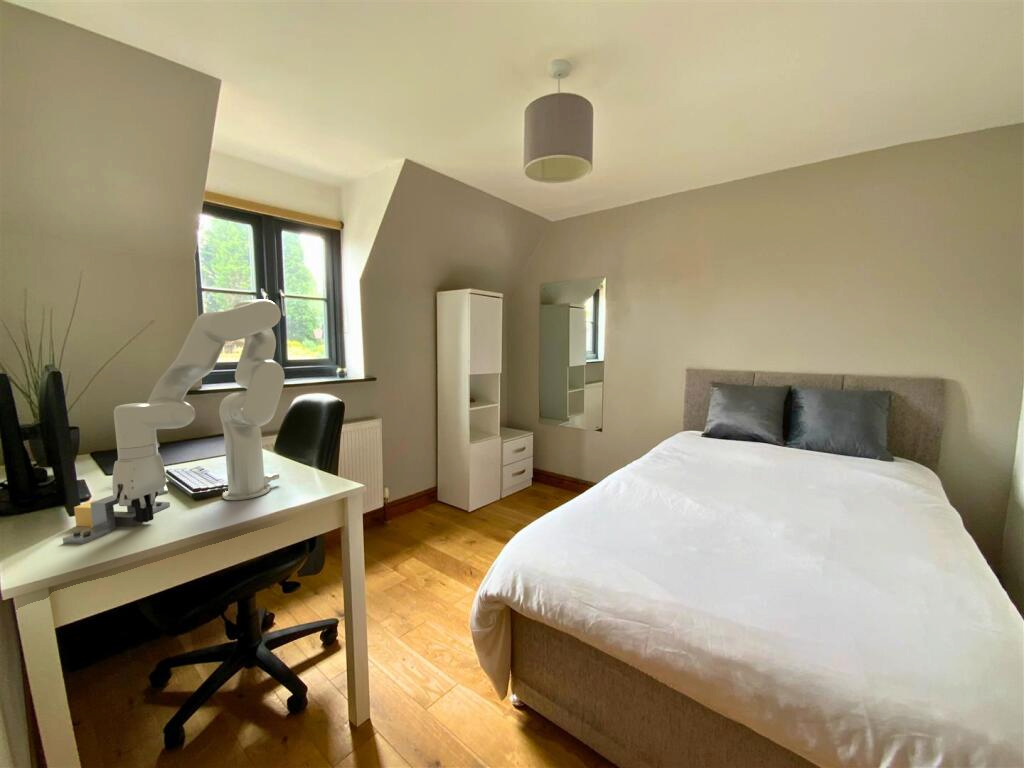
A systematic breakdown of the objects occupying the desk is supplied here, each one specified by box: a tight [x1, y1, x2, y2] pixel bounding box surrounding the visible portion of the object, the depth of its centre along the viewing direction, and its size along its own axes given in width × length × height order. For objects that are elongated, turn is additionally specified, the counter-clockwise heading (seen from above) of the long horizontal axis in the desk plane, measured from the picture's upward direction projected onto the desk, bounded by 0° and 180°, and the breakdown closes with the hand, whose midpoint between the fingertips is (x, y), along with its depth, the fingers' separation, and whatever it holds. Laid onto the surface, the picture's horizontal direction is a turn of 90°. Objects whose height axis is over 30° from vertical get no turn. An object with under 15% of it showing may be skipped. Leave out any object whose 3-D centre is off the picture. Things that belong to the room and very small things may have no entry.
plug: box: [73, 499, 144, 528], centre depth 105 cm, size 15×4×5 cm, turn 86°
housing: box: [62, 494, 171, 545], centre depth 105 cm, size 5×22×7 cm, turn 175°
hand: (145, 520), depth 105 cm, fingers closed
